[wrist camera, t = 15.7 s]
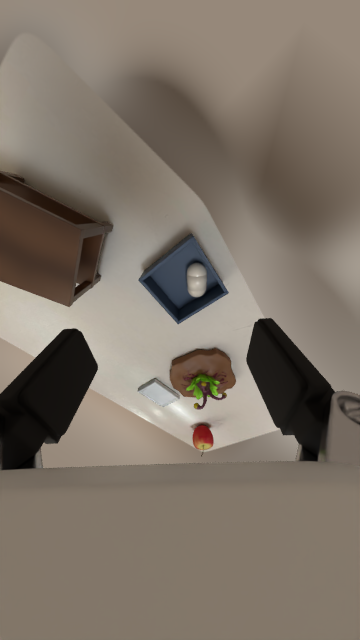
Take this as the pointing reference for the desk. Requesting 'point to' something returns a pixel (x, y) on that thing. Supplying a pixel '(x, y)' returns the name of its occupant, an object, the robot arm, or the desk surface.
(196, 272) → the white capsule
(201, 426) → the apple
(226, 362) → the plant
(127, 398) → the desk surface
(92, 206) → the desk surface
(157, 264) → the bin
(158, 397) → the hard drive
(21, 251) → the side table
